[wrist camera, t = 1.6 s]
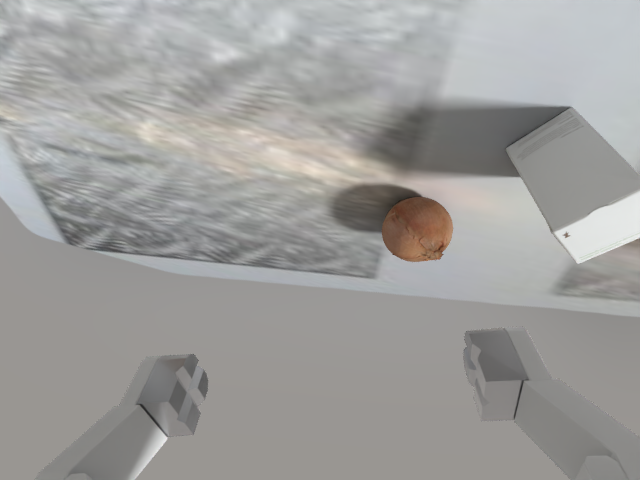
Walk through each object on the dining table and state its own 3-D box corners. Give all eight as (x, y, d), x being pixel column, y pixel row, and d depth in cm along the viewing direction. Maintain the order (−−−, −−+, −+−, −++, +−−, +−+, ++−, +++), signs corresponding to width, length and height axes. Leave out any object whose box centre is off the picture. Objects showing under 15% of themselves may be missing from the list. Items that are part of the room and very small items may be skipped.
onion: (436, 197, 56) (477, 246, 50) (387, 235, 59) (421, 286, 53) (411, 169, 49) (456, 223, 43) (358, 215, 52) (393, 270, 46)
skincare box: (525, 178, 49) (573, 268, 38) (501, 145, 46) (547, 233, 35) (595, 139, 44) (673, 229, 33) (574, 100, 41) (652, 186, 30)
